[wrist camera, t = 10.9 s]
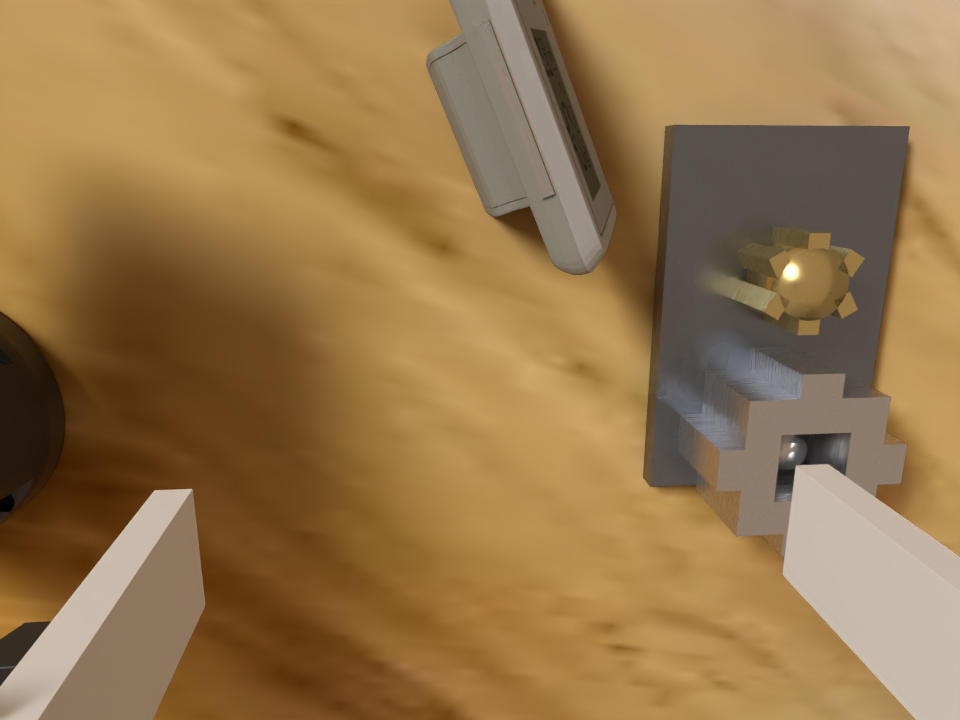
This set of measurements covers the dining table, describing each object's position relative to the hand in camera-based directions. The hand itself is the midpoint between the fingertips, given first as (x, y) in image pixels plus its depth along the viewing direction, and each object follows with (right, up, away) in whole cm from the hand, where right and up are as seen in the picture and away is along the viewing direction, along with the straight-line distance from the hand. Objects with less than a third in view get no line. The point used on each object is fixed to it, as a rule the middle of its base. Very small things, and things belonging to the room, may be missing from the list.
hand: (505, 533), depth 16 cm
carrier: (+17, +7, +30) cm, 35 cm away
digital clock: (+2, +18, +26) cm, 31 cm away
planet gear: (+17, -1, +30) cm, 35 cm away
